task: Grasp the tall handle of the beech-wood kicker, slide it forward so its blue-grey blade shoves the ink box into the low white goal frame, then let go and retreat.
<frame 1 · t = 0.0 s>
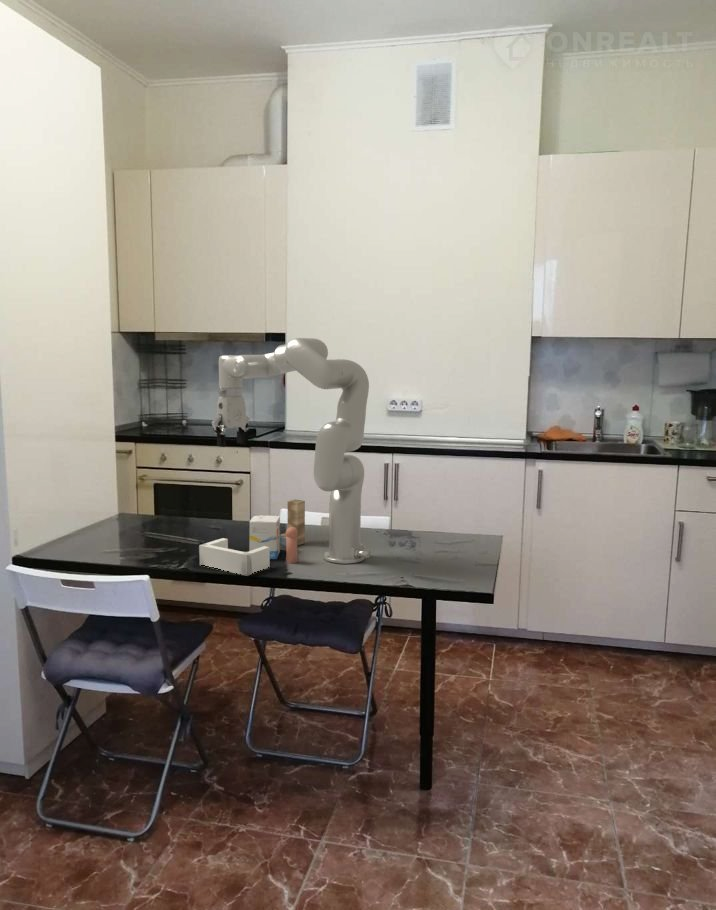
hand: (231, 444, 239), 31 cm above the table, tool pointing down, fingers open, 9 cm apart
ink box: (265, 555, 223), on the table
kicker: (289, 524, 232), point 7 cm above the table, slide at 0.0 cm
figure left: (291, 561, 216), on the table
goal frame: (234, 566, 211), on the table
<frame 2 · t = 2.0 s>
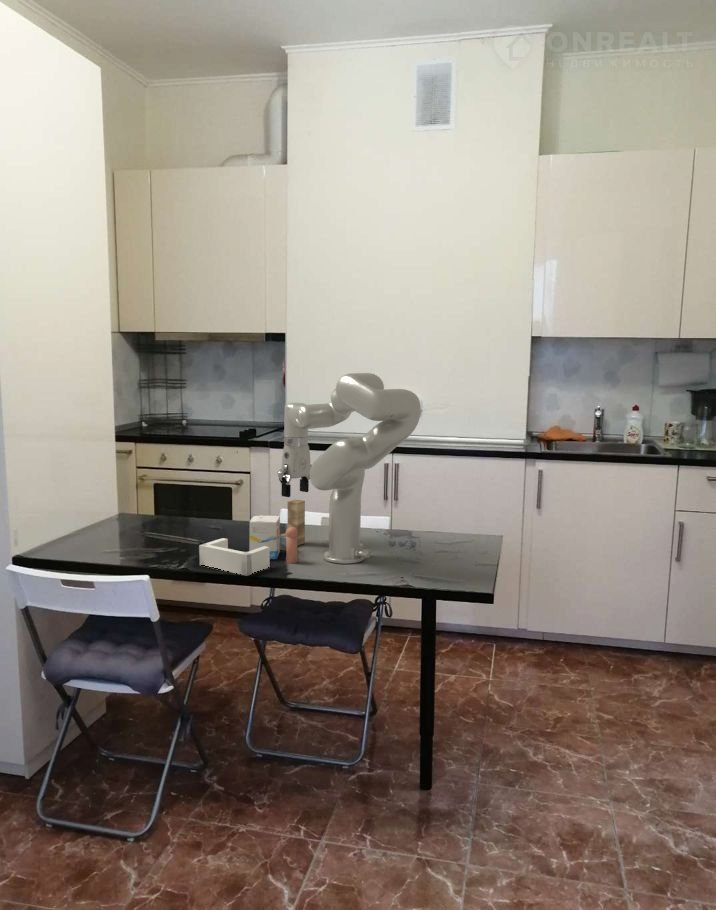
hand: (295, 494, 234), 16 cm above the table, tool pointing down, fingers open, 9 cm apart
nothing on the table moved.
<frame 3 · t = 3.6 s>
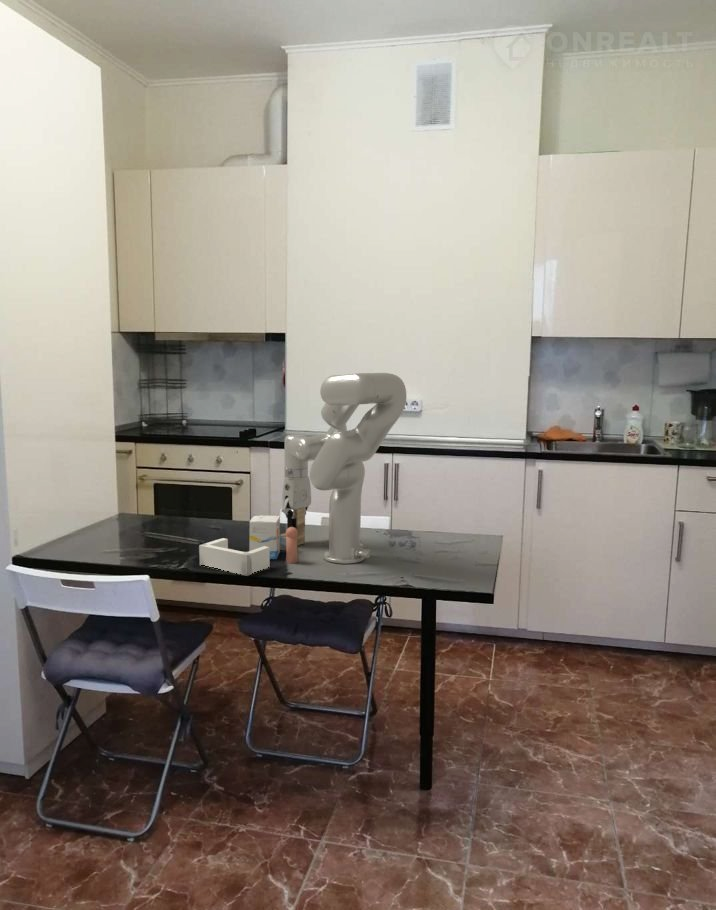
hand: (296, 527, 235), 5 cm above the table, tool pointing down, fingers closed on kicker, 4 cm apart
kicker: (289, 524, 232), point 7 cm above the table, slide at 0.0 cm, touching gripper
everything else where it was.
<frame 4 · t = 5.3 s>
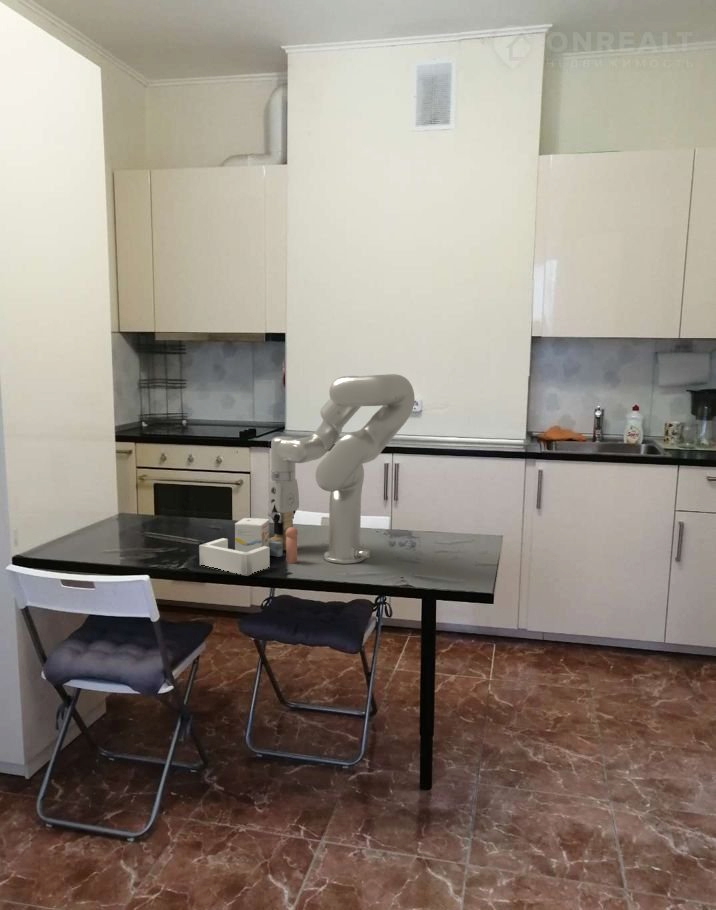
hand: (283, 532, 230), 5 cm above the table, tool pointing down, fingers closed on kicker, 4 cm apart
ink box: (252, 559, 219), on the table, touching kicker
kicker: (276, 528, 226), point 7 cm above the table, slide at 6.8 cm, touching gripper, ink box
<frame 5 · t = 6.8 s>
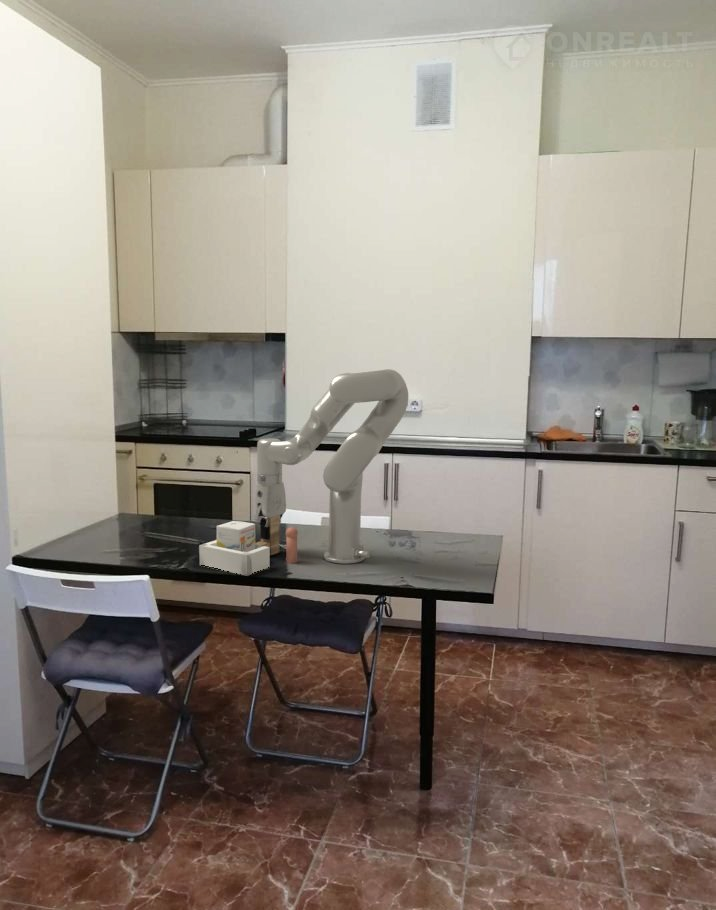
hand: (270, 536, 224), 5 cm above the table, tool pointing down, fingers closed on kicker, 4 cm apart
ink box: (236, 563, 214), on the table
kicker: (262, 533, 221), point 7 cm above the table, slide at 13.5 cm, touching gripper
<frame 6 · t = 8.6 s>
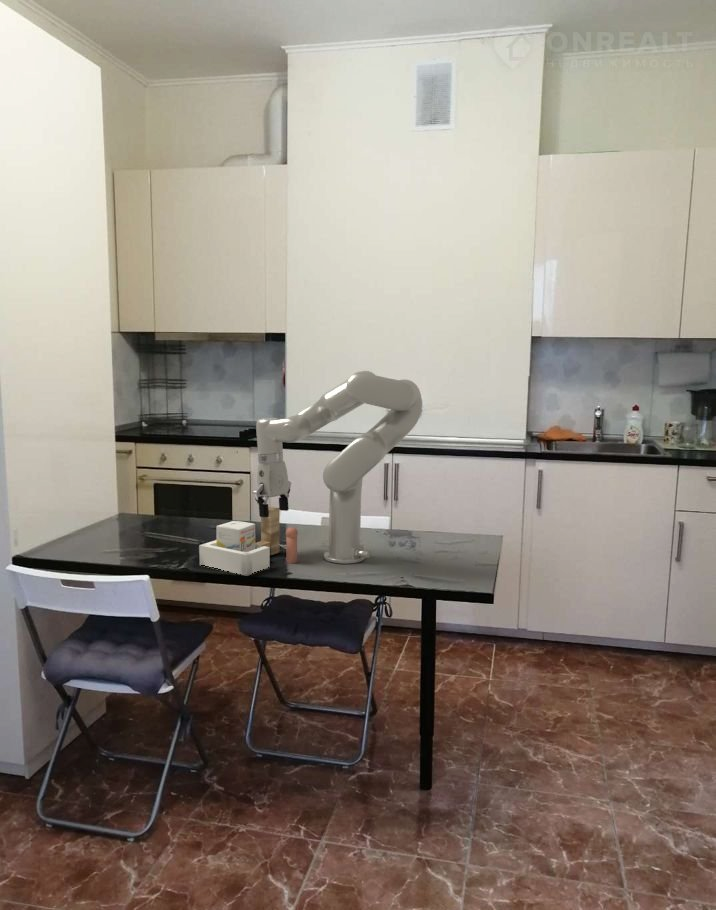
hand: (274, 513, 223), 13 cm above the table, tool pointing down, fingers open, 9 cm apart
kicker: (263, 532, 221), point 7 cm above the table, slide at 13.4 cm
everything else where it was.
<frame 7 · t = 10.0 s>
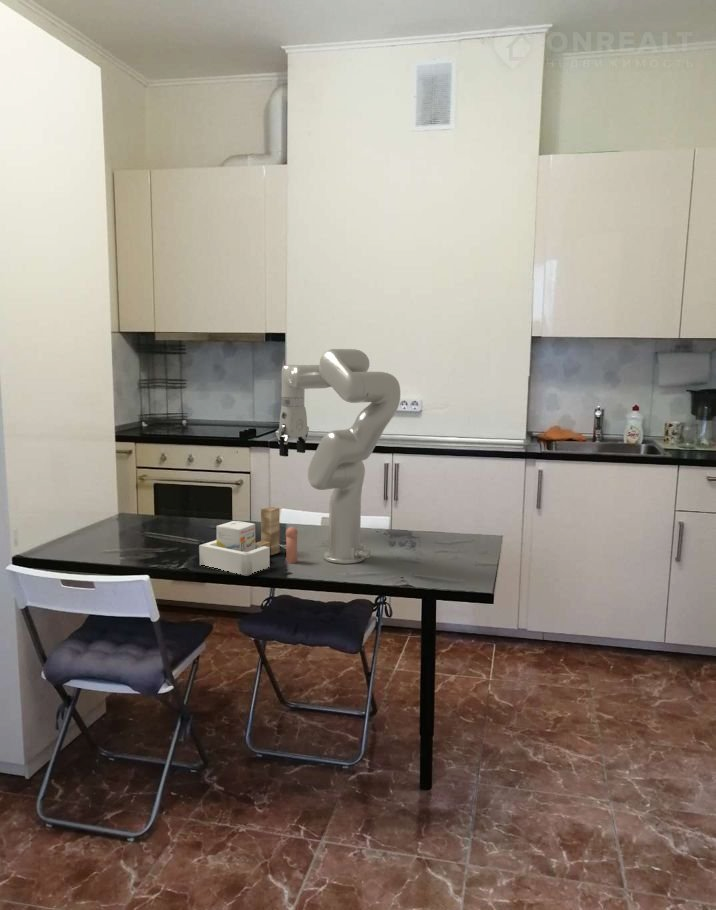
hand: (292, 454, 240), 28 cm above the table, tool pointing down, fingers open, 9 cm apart
nothing on the table moved.
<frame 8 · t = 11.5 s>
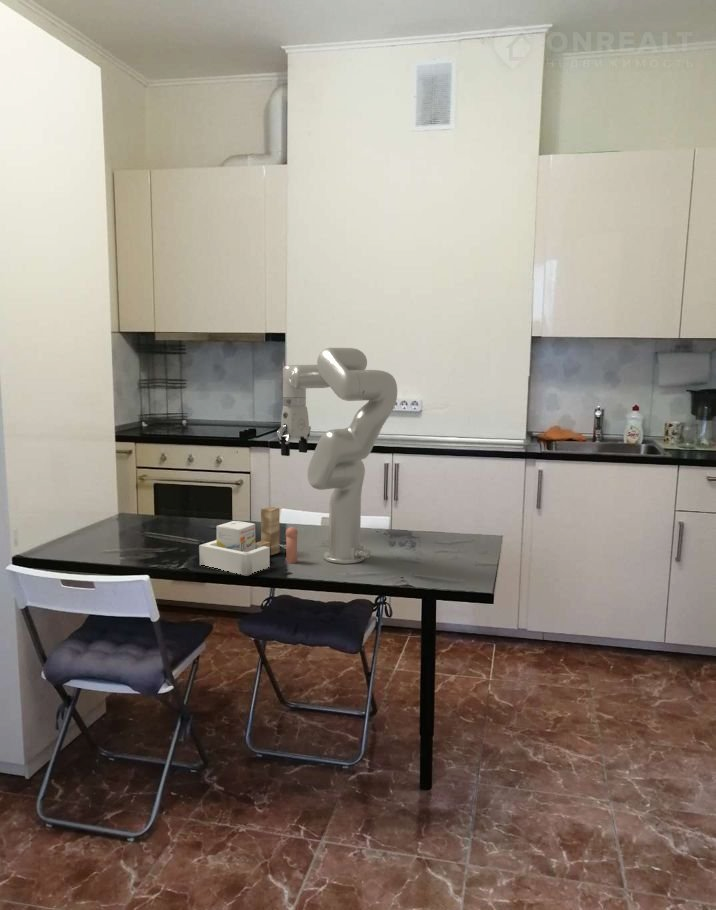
hand: (294, 453, 241), 28 cm above the table, tool pointing down, fingers open, 9 cm apart
nothing on the table moved.
at the end: ink box inside the target area (3.6 cm from its centre), on the table; ink box tilted 0°; kicker slide at 13.4 cm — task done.
